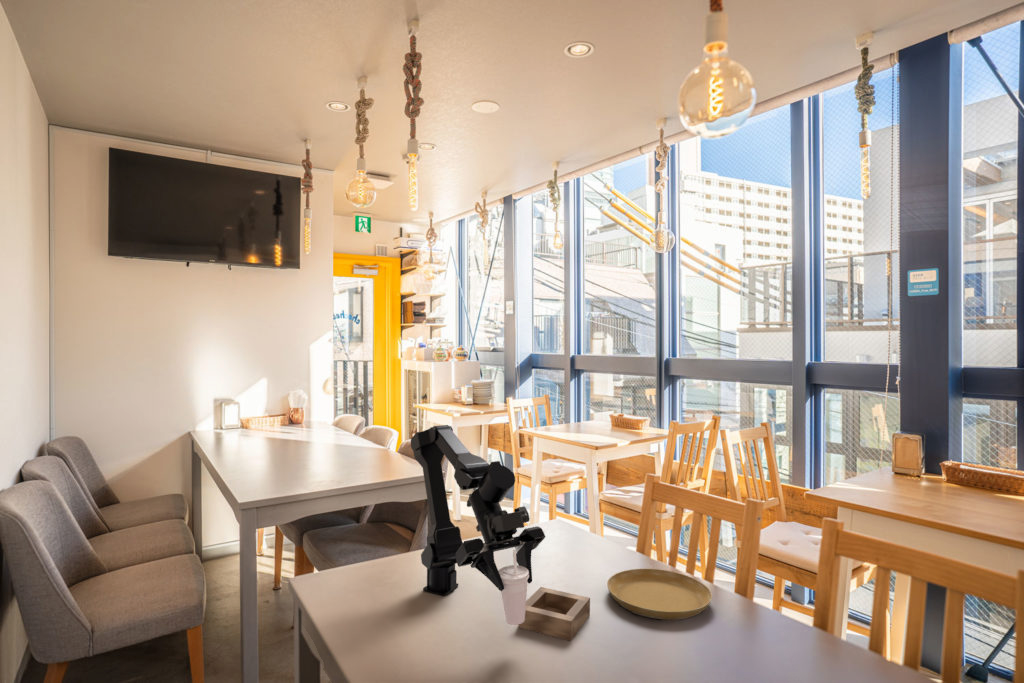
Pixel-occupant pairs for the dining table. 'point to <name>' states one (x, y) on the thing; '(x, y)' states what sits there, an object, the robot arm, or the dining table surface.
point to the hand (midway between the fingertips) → (516, 586)
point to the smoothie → (514, 591)
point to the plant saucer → (659, 593)
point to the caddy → (556, 613)
